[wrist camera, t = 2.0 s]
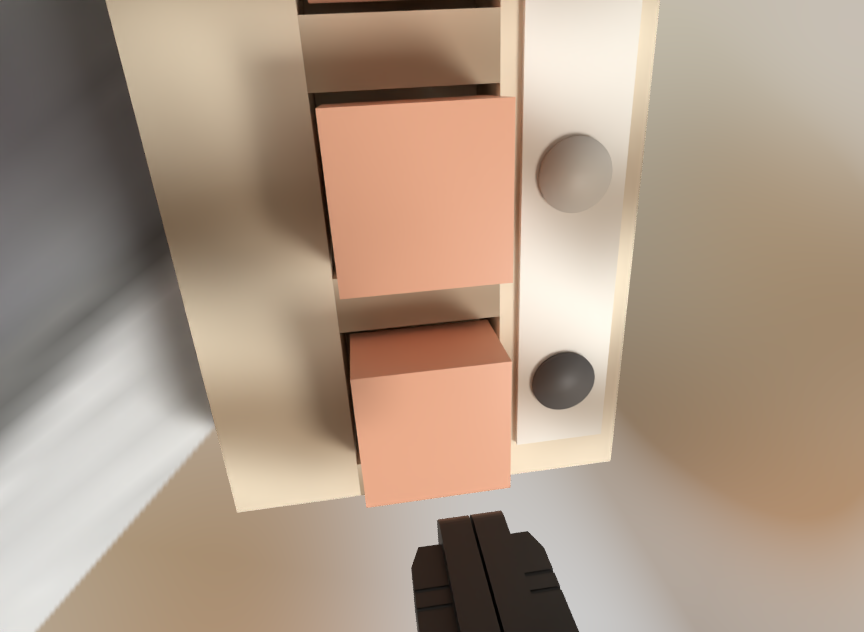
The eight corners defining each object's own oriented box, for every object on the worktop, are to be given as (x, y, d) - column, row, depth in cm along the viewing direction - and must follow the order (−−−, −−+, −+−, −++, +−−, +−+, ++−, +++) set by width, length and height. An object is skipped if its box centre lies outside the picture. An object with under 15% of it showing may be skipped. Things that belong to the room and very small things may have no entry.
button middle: (321, 104, 15) (315, 108, 12) (485, 94, 15) (515, 97, 12) (341, 263, 16) (339, 299, 14) (486, 251, 17) (513, 282, 14)
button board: (99, -252, 14) (-2, -387, 10) (614, -244, 15) (706, -358, 11) (255, 443, 23) (235, 519, 19) (571, 404, 24) (614, 466, 20)
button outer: (350, 334, 17) (350, 380, 15) (487, 319, 18) (511, 361, 15) (364, 448, 19) (366, 507, 17) (488, 432, 20) (510, 487, 17)
